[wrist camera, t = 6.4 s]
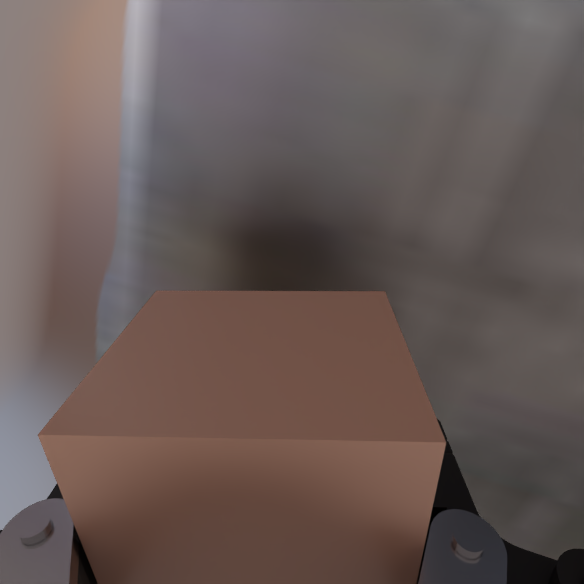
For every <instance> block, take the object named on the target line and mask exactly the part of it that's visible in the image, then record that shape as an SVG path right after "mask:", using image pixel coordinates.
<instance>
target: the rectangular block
mask: <svg viewBox="0 0 584 584" xmlns="http://www.w3.org/2000/svg"><path fill="white" fill-rule="evenodd" d="M38 436H39V439H40V441H41V444H42V446H43V449H44V452H45V454H46V456H47V459H48V461H49V464H50V466H51V469H52V471H53V474H54V476H55V479H56V481H57V484H58V486H59V489H60V491H61V494H62V496H63V499H64V501H65V504H66V506H67V509H68V511H69V513H70V516H71V518H72V521H73V523H74V526H75V528H76V531H77V533H78V536H79V538H80V541H81V543H82V546H83V548H84V551H85V553H86V556H87V558H88V561H89V563H90V566H91V568H92V570H93V573H94V575H95V578H96V580H97V583H98V584H416V583H417V578H418V573H419V569H420V564H421V559H422V555H423V550H424V545H425V541H426V536H427V531H428V526H429V522H430V517H431V512H432V508H433V503H434V498H435V493H436V489H437V484H438V479H439V475H440V470H441V465H442V460H443V456H444V451H445V446H446V441H445V438H444V436H443V433H442V431H441V428H440V426H439V423H438V421H437V418H436V416H435V413H434V411H433V409H432V406H431V404H430V401H429V399H428V396H427V394H426V391H425V389H424V386H423V384H422V381H421V379H420V377H419V374H418V372H417V369H416V367H415V364H414V362H413V359H412V357H411V354H410V352H409V350H408V347H407V345H406V342H405V340H404V337H403V335H402V332H401V330H400V327H399V325H398V322H397V320H396V318H395V315H394V313H393V310H392V308H391V305H390V303H389V300H388V298H387V295H386V293H385V291H156V292H155V293H154V294H153V295H152V297H151V298H150V299H149V300H148V301H147V303H146V304H145V305H144V306H143V307H142V309H141V310H140V311H139V312H138V314H137V315H136V316H135V317H134V318H133V320H132V321H131V322H130V323H129V325H128V326H127V327H126V328H125V329H124V331H123V332H122V333H121V334H120V335H119V337H118V338H117V339H116V340H115V342H114V343H113V344H112V345H111V346H110V348H109V349H108V350H107V351H106V352H105V354H104V355H103V356H102V357H101V359H100V360H99V361H98V362H97V363H96V365H95V366H94V367H93V369H92V370H91V371H90V372H89V373H88V374H87V376H86V377H85V378H84V379H83V381H82V382H81V383H80V384H79V385H78V387H77V388H76V389H75V390H74V392H73V393H72V394H71V395H70V397H69V398H68V399H67V400H66V401H65V402H64V404H63V405H62V406H61V407H60V408H59V410H58V411H57V412H56V413H55V415H54V416H53V417H52V418H51V419H50V421H49V422H48V423H47V424H46V426H45V427H44V428H43V429H42V430H41V432H40V433H39V434H38Z"/></svg>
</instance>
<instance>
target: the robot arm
mask: <svg viewBox="0 0 584 584" xmlns="http://www.w3.org/2000/svg"><path fill="white" fill-rule="evenodd" d="M437 421H438V423H439V426H440V428H441V431H442V433H443V436H444V438H445V441H446V446H445V451H444V456H443V460H442V465H441V470H440V475H439V479H438V484H437V489H436V493H435V498H434V503H433V508H432V512H431V517H430V522H429V526H428V531H427V536H426V541H425V545H424V550H423V555H422V559H421V564H420V569H419V573H418V578H417V583H416V584H584V549H571V550H568V551H566V552H564V553H563V554H562V555H561V556H560V557H559V559H558V561H557V560H554V559H551V558H548V557H545V556H542V555H539V554H536V553H533V552H530V551H527V550H524V549H521V548H519V547H516V546H514V545H512V544H510V543H508V542H507V541H505V540H503V539H502V538H501V537H500V536H499V534H498V533H497V532H496V530H495V529H494V528H493V527H492V526H491V525H490V524H489V523H488V522H486V521H485V520H484V519H482V518H481V517H480V516H479V514H478V512H477V510H476V508H475V505H474V503H473V501H472V498H471V496H470V493H469V491H468V488H467V486H466V484H465V481H464V479H463V476H462V474H461V471H460V469H459V467H458V464H457V462H456V459H455V457H454V455H453V454H452V450H451V447H450V445H449V442H448V441H447V437H446V435H445V432H444V430H443V428H442V425H441V423H440V421H439V420H438V419H437ZM0 584H98V583H97V580H96V578H95V575H94V573H93V570H92V568H91V566H90V563H89V561H88V558H87V556H86V553H85V551H84V548H83V546H82V543H81V541H80V538H79V536H78V533H77V531H76V528H75V526H74V523H73V521H72V518H71V516H70V513H69V511H68V509H67V506H66V504H65V501H64V499H63V496H62V494H61V491H60V489H59V486H58V484H57V485H56V486H55V488H54V489H53V491H52V492H51V494H50V495H49V497H48V498H47V499H46V500H42V501H39V502H37V503H35V504H32V505H31V506H28V507H27V508H25V509H24V510H22V511H21V512H20V513H18V514H17V515H16V516H15V517H13V518H12V520H10V522H9V523H8V524H7V525H6V526H5V528H4V529H3V530H0Z"/></svg>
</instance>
